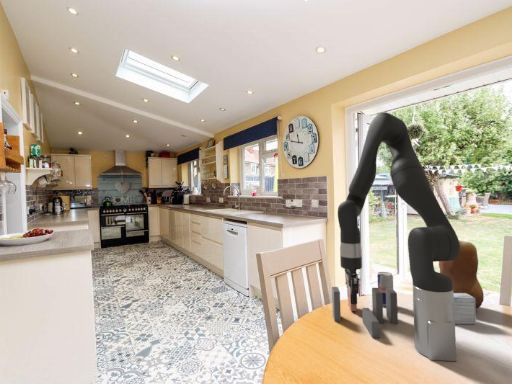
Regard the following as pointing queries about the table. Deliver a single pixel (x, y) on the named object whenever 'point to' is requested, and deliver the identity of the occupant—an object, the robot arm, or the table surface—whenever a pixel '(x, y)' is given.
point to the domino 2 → (352, 306)
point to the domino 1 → (336, 304)
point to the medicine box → (464, 309)
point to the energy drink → (384, 284)
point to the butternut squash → (464, 272)
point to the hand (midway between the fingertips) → (352, 300)
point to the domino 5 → (391, 306)
